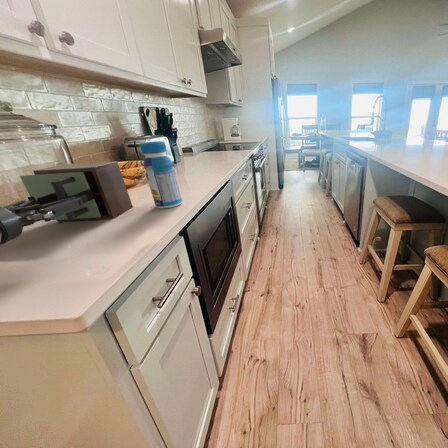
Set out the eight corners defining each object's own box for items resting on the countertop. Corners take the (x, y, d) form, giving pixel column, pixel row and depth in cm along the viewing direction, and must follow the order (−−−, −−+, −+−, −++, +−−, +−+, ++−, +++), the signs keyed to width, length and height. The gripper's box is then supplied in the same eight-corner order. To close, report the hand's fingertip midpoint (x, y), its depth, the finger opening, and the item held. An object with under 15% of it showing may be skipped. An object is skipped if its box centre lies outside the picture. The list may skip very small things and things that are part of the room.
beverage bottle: (177, 208, 77) (159, 142, 69) (150, 210, 77) (129, 144, 68) (186, 200, 85) (172, 140, 76) (162, 201, 84) (145, 141, 76)
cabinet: (57, 221, 70) (32, 170, 64) (83, 210, 80) (63, 164, 73) (113, 218, 71) (93, 167, 65) (133, 207, 80) (117, 161, 74)
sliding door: (22, 229, 63) (-6, 181, 58) (44, 220, 69) (21, 175, 64) (84, 225, 64) (62, 177, 59) (101, 216, 70) (83, 171, 65)
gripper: (-61, 250, 47) (46, 209, 68) (45, 244, 47) (118, 205, 68) (-88, 215, 43) (32, 183, 64) (26, 208, 44) (108, 179, 65)
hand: (76, 195), depth 66 cm, fingers closed on sliding door, 7 cm apart
